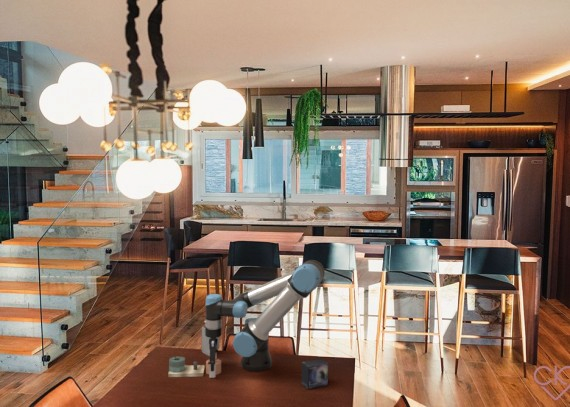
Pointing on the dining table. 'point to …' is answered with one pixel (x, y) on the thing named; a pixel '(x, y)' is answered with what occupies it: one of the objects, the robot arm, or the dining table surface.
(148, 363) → the dining table surface
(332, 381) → the dining table surface
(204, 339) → the grey magazine holder
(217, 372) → the loose gear
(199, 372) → the gear board
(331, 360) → the dining table surface
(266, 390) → the dining table surface
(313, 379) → the small box
